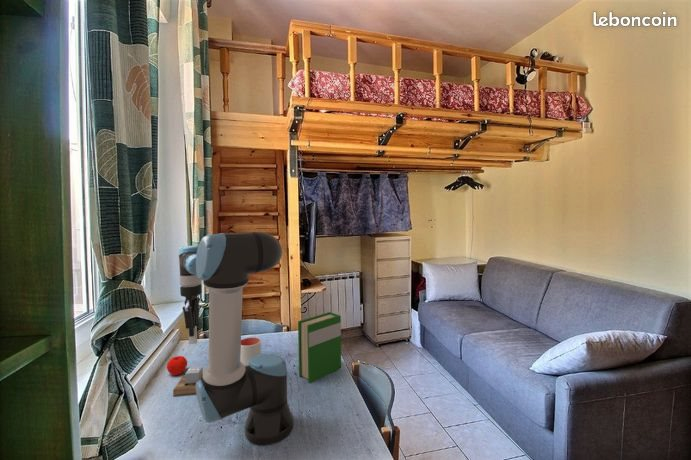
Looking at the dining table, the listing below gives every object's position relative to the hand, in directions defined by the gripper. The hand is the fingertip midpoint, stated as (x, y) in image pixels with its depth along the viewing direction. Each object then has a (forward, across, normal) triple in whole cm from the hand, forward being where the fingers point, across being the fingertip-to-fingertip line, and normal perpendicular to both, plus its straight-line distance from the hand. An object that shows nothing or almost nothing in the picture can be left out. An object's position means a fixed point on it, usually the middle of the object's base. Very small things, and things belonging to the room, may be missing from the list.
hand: (193, 343), depth 125 cm
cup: (+18, +18, -19) cm, 32 cm away
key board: (+18, 0, -8) cm, 20 cm away
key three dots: (+15, 0, 0) cm, 15 cm away
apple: (+18, +13, +11) cm, 25 cm away
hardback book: (+18, +3, -51) cm, 54 cm away
